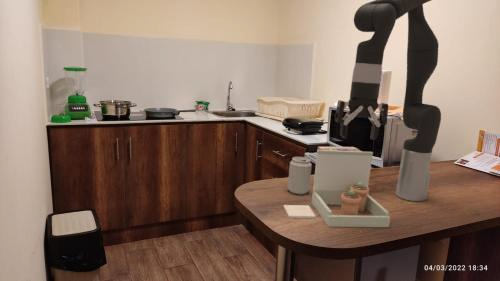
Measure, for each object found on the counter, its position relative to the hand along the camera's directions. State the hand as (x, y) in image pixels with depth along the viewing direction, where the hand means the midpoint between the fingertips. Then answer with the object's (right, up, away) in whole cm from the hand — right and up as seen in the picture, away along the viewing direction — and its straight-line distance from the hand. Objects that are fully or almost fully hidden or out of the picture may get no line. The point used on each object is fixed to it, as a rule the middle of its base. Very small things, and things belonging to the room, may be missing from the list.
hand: (358, 138), depth 104 cm
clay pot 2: (+3, -22, +13) cm, 26 cm away
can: (-14, -19, +25) cm, 34 cm away
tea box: (+2, -18, +32) cm, 37 cm away
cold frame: (-1, -23, +8) cm, 25 cm away
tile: (-16, -22, +7) cm, 28 cm away
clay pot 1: (-1, -24, +5) cm, 24 cm away
